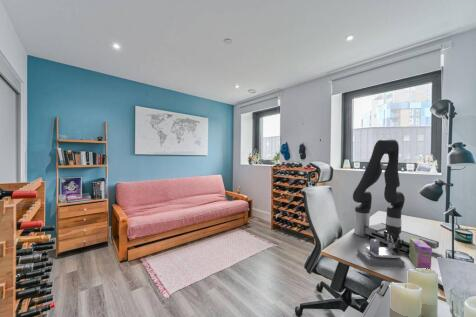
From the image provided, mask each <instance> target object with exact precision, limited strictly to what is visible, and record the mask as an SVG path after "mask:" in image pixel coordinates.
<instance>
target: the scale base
mask: <svg viewBox="0 0 476 317" xmlns="http://www.w3.org/2000/svg"><path fill="white" fill-rule="evenodd" d="M357 255H358V256H359V257H360V258H361V259H362V260H363V261H364V262H365V263H366V264H367V265H368V266H370V267H373V266H374V267H393V268H405V262H406V261H405V260H403V259H401V258H388V257H375V256H374V255H373V254H371V253H370V252H369V251H368V250H367V249H359V248H357Z"/></svg>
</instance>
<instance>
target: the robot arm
mask: <svg viewBox="0 0 476 317" xmlns="http://www.w3.org/2000/svg"><path fill="white" fill-rule="evenodd" d="M399 148H400V147H399V143H398V141H397V140H396V139H392V138H391V139H390V138H387V139H386V138H385V139H384V138H382V139H379V140H377V141H376V143H375V144H374V147H373V150H372V152H371V156H370V159H369V161H368V163H367V165H366V167H365V170H364V171H363V172H364V173H363V174H362V177H361V179H360V181H359V183H358V185H357V186H356V188H355V189H354V191H353V194H352V200H353V202H355V203H359V205H357V206H355V207H354V220H353V221H354V223H353V224H354V225H353V226H354V227H353V228H354V230H353V232H354V233H353V234H355V236H358V237H362V238H363V237H364V238H367V236H366V234H365V227H368V226H370V215H371V214H370V212H371V208H372V200H373V198H372V196H373V195H372V193H371V192H370V190H367V189H369V188H370V187H372V186H373V185H374V184H375V183H377V182H378V180H379V179H380V177H381V176H382V173H383V168H382V164H381V163H382V162H381V161H382V159H383V157H384V155H388V162H387V165H386V167H385V170H384V173H383V174H384V175H383V177H384V182H385V186H384V194H383V196H384V199H385V201H386V203H388V204H390V205H389V206H387V208H386V218H385V224H386V231H384V238H385V241H387V246H386V248H388V241H392V243H393V251H394V252H396V253H397V254H399V251H398V248H402V245H403V242H404V240H401V239H400V236H399V234H400V233H401V231H402V211H403V208H404V205H405V199H406V198H405V195H404V193H403V192H401V191H398V190H397V189H398V188H399V187H400V185H401V184H400V177H399V153H400V152H399V151H400V149H399ZM386 237H387V239H386ZM394 241H397V242H394ZM395 244H396V246H395Z"/></svg>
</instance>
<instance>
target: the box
mask: <svg viewBox="0 0 476 317" xmlns="http://www.w3.org/2000/svg"><path fill="white" fill-rule="evenodd" d="M432 253H433V248H431V247H430V246H428V245H427V244H426V243H425V242H424V241H423V240H418V239H411V238H410V250H409V254H408V259H410V261H411V262H412V263H413V265H414V266H415V267H416V268H418V269H422V268H428V269H432V255H433V254H432ZM428 269H427V270H428Z"/></svg>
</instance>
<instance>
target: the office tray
mask: <svg viewBox="0 0 476 317" xmlns="http://www.w3.org/2000/svg"><path fill="white" fill-rule="evenodd" d="M384 231H386V223H383V222H380V223H377V224H372V225H369V226H368V227H365V234H366V236H367V237H368V239H369V240H370V239H376V240H379V245H383V246H386V247H387V241H385V238H384ZM399 236H400V239H401V240H404V242H403V245H402V248H398V250H399V251H398V252H401V253H403V254H406V255H409V250H410V238H411V239H418V240H423V241H424V242H425V243H426V244H427V245H428V246H430V247H431V248H432V250H433V249H434V250H435V249H437V248H439V244H440V241H437V240H434V239H430V238H427V237H423V236H420V235H418V234H414V233H411V232H408V231H404V230H401V233H400V234H399ZM367 237H366V238H367ZM386 239H387V237H386ZM394 242H397V241H394Z"/></svg>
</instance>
